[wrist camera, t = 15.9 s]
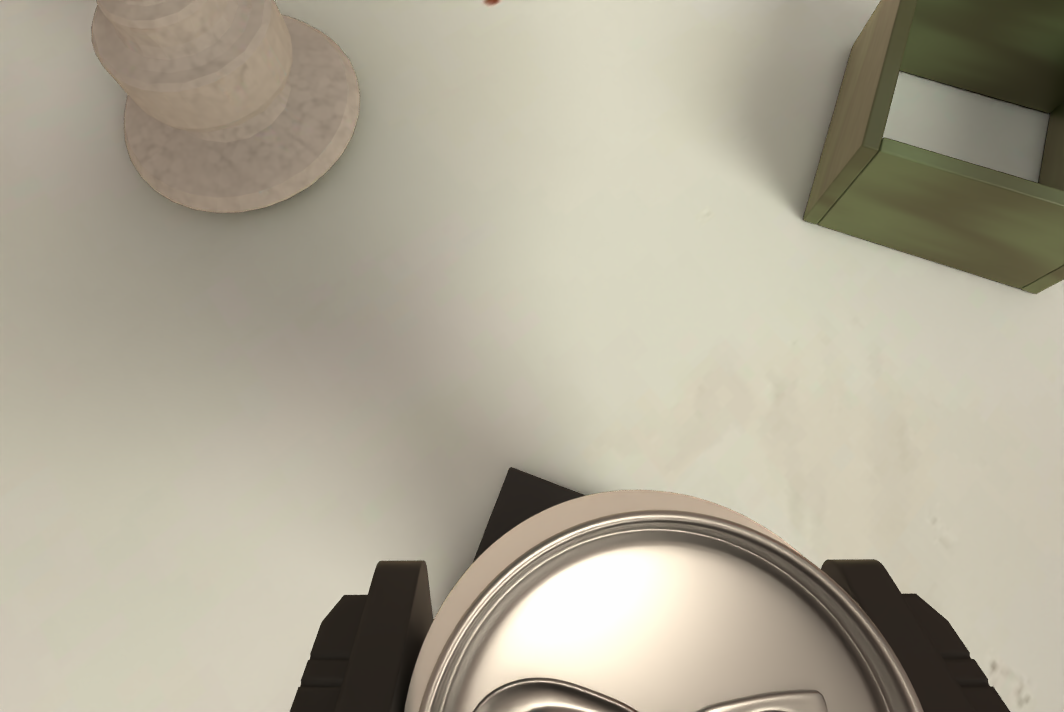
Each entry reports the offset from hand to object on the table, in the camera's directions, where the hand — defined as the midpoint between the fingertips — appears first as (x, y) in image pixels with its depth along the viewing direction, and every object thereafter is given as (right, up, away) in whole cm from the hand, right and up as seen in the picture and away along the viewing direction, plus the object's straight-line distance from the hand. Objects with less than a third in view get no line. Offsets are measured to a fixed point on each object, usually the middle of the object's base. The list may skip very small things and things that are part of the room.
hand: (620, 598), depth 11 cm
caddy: (+15, +12, +16) cm, 25 cm away
